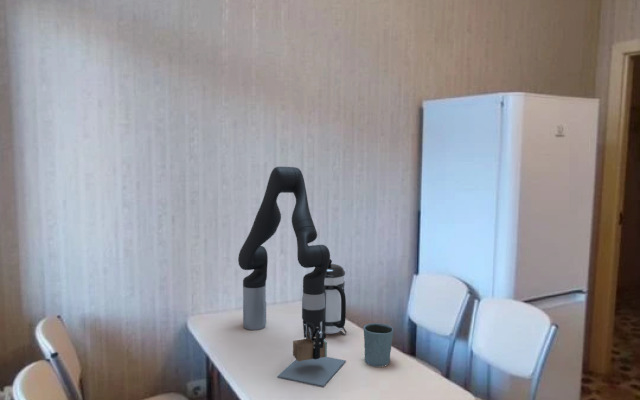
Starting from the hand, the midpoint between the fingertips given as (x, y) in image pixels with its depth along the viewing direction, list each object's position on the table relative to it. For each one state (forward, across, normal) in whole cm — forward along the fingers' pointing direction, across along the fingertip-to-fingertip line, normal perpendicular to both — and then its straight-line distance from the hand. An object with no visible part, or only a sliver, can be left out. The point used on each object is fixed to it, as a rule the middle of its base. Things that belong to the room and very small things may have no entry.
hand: (313, 355), depth 164 cm
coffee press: (+5, +28, -18) cm, 34 cm away
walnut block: (-2, 0, +6) cm, 7 cm away
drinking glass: (+5, -2, -23) cm, 24 cm away
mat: (+5, 0, 0) cm, 5 cm away
